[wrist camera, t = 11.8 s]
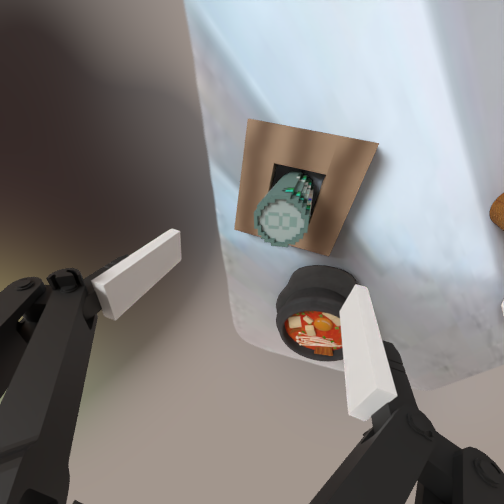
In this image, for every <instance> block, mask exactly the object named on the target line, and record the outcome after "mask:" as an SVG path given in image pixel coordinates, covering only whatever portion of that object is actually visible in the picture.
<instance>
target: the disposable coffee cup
mask: <svg viewBox="0 0 504 504" xmlns="http://www.w3.org/2000/svg"><path fill="white" fill-rule="evenodd" d="M490 218H491V220H492V221H493V222H494V223H495V224H496V225H498V226H499V227H500V228H501V229H502V230H503V231H504V193H503V194H501V195H500V196H499V197H498V198H497V199H496V200H495V202H494V203H493V204H492V206H491V209H490Z"/></svg>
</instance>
